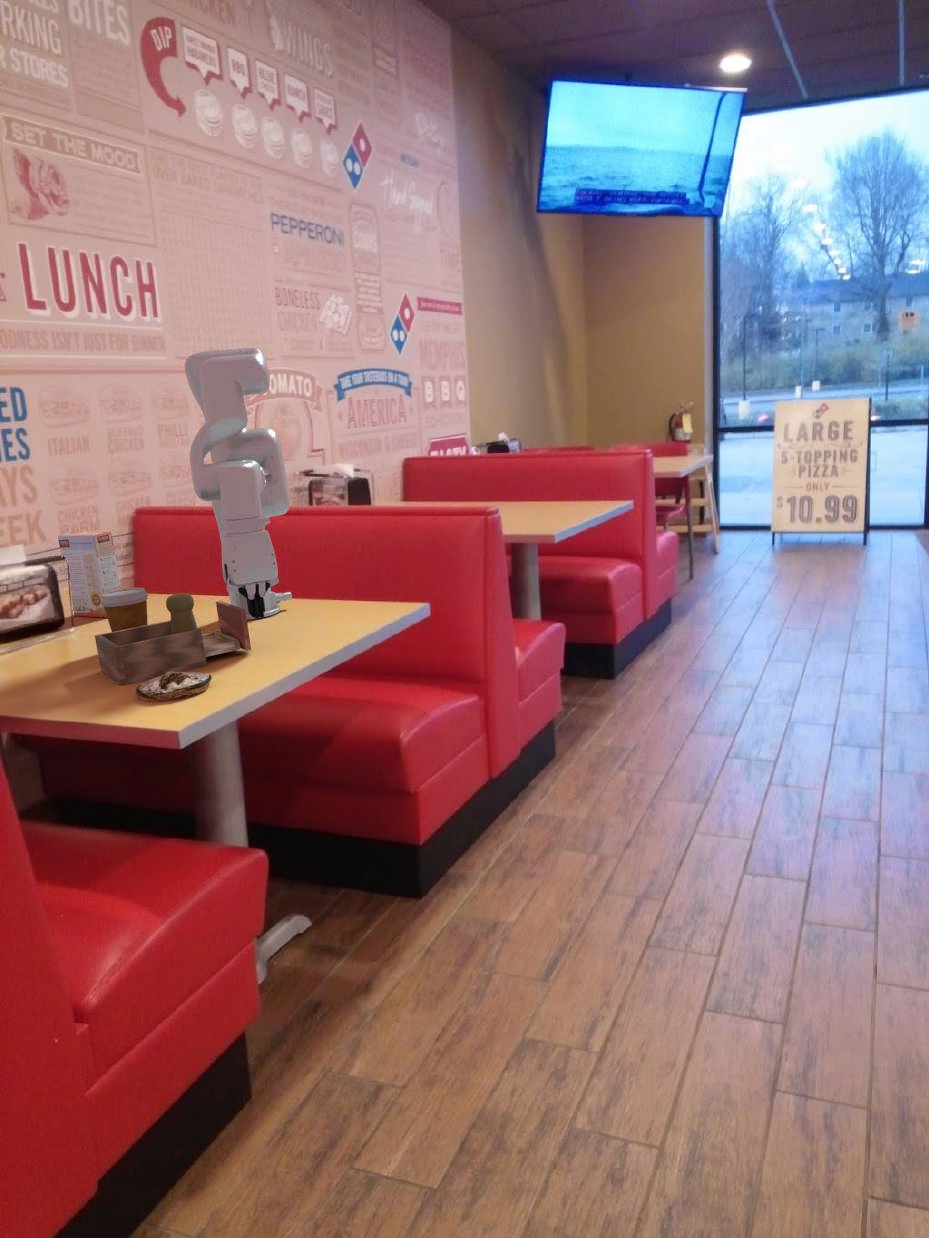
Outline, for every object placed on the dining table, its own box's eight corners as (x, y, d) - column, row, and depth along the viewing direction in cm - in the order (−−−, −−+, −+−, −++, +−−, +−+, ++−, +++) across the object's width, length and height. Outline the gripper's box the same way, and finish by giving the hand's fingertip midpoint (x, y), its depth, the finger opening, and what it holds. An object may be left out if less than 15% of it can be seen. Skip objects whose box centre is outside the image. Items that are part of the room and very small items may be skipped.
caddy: (182, 652, 198) (176, 618, 196) (206, 665, 185) (201, 629, 184) (101, 670, 189) (94, 635, 188) (121, 685, 177) (114, 647, 175)
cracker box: (127, 613, 246) (112, 530, 241) (107, 618, 241) (91, 534, 236) (91, 611, 254) (76, 531, 249) (71, 616, 249) (56, 535, 244)
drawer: (226, 638, 202) (221, 600, 200) (251, 649, 190) (245, 609, 188) (149, 655, 193) (142, 616, 192) (170, 667, 182) (163, 626, 180)
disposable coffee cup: (165, 641, 209) (156, 586, 206) (137, 653, 200) (127, 596, 198) (128, 642, 212) (119, 587, 210) (99, 653, 204) (89, 597, 201)
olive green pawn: (194, 653, 187) (185, 596, 185) (165, 654, 188) (156, 598, 186) (208, 644, 193) (200, 590, 190) (180, 646, 194) (171, 591, 192)
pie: (184, 677, 180) (180, 655, 179) (237, 686, 171) (233, 663, 170) (113, 701, 169) (109, 678, 168) (166, 711, 160) (162, 687, 159)
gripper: (272, 520, 200) (284, 607, 204) (201, 531, 192) (215, 621, 196) (287, 522, 194) (299, 612, 198) (214, 533, 186) (228, 627, 190)
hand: (257, 616), depth 197 cm, fingers closed
